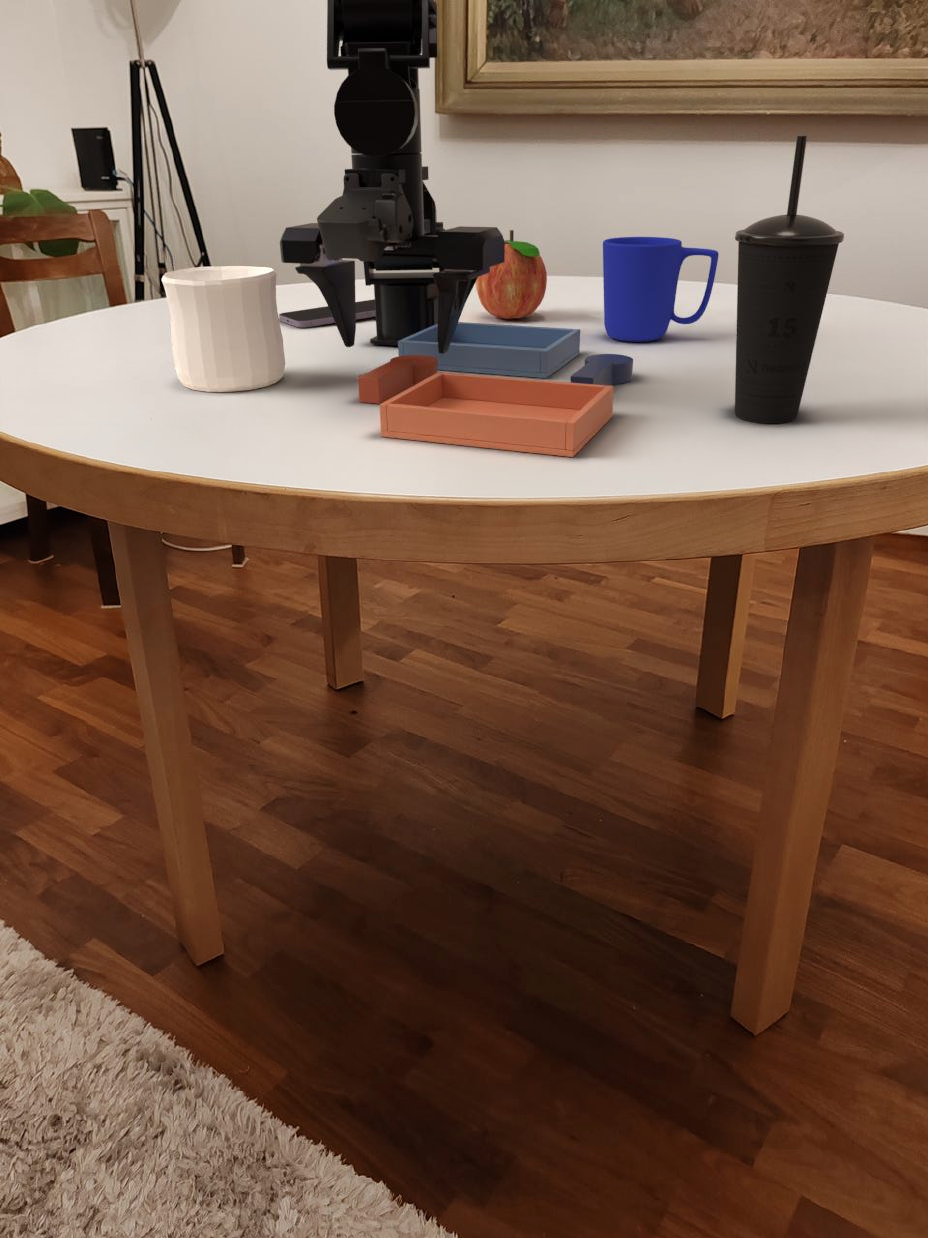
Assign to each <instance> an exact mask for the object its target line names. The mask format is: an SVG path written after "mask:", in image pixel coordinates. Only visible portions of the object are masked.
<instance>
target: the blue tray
mask: <svg viewBox="0 0 928 1238" xmlns="http://www.w3.org/2000/svg"><path fill="white" fill-rule="evenodd" d="M437 327H438V324H436V325H433V326H431V327H429V328H427V329H424V330H422V331H420V332H418V333H415V334H413V335H411V336H408V337H406V338H404V339H402V340H399V341H398V346H397V347H398V350H397V351H398V356H404V355H427V356H432V357H435V358H437V366H438V371H449V372H460V373H461V372H462V373H471V374H472V373H473V374H474V373H475V374H486V375H499V376H509V377H510V376H512V377H522V378H523V377H525V378H537V379H547V378H549V377H551V375H553V374H554V373H556V372H557V371H558V370H560V369H561V368H562V367H564V366H565V365H567V364H568V363H569V362H570V361H572V360H574V359H575V358H576V357H578V356H579V355H580V353H581V352H580V348H581V329H580V328H564V327H549V326H548V327H547V326H533V325H532V326H531V325H516V324H515V325H514V324H499V323H482V322H481V323H480V322H465V321H464V322H463V321H458V324H457V327H456V329H455V332H454V335H453V338H452V340H451V343H450V346H449V349H448V351H447V352H446V353H444V354H440V353H439V349H438V340H437Z"/></svg>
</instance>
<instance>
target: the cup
mask: <svg viewBox="0 0 928 1238" xmlns="http://www.w3.org/2000/svg"><path fill="white" fill-rule="evenodd" d="M277 276H278V273H277V272H276V271H275V269H273V268H272V267H267V266H248V265H228V266H227V265H225V266H196V267H186V268H181V269H176V270H171V271H166V272H165V273H164V274H163V275H162V277H161V279H160V280H161V282H162V285H163V289H164V292H165V297H166V301H167V305H168V312H169V319H170V338H171V339H170V340H171V348H172V355H173V361H174V369H175V372H176V375H177V378H178V381H179V382H180V383H181V384H182V385H183V386H184V387H186V388H187V389H189V390H194V391H197V392H208V393H230V392H231V393H233V392H234V393H235V392H242V391H243V392H244V391H251V390H256V389H260V388H266V387H269V386H272V385H274V384H277V383H278V382H279V381H281V380H282V377H284V374H285V368H286V358H285V357H286V355H285V346H284V338H283V334H282V328H281V323H280V322H281V321H280V320H279V312H278V306H277V305H278V303H277Z"/></svg>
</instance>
